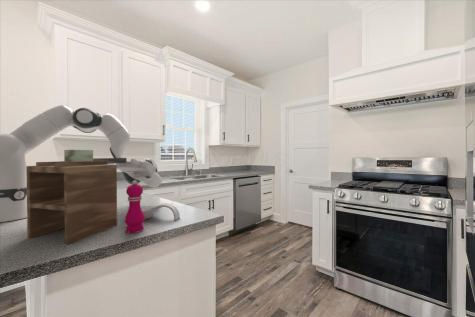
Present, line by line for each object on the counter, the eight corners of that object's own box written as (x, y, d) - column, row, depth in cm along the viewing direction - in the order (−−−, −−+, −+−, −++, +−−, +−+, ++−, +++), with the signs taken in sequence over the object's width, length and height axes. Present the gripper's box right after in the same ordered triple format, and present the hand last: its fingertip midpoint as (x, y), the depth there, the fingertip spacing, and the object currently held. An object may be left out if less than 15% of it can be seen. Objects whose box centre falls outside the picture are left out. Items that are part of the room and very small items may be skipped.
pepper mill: (125, 234, 81) (125, 182, 81) (124, 229, 88) (123, 180, 87) (146, 231, 85) (145, 180, 85) (143, 226, 91) (143, 178, 91)
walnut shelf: (27, 237, 78) (26, 161, 77) (81, 221, 97) (80, 160, 97) (68, 244, 72) (67, 162, 72) (117, 225, 91) (116, 161, 91)
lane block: (64, 165, 83) (64, 149, 83) (119, 162, 109) (119, 150, 108) (76, 165, 81) (75, 149, 81) (129, 162, 107) (129, 150, 107)
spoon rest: (123, 221, 99) (123, 205, 99) (138, 213, 111) (138, 200, 110) (173, 223, 96) (173, 207, 96) (183, 215, 107) (183, 201, 107)
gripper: (128, 166, 124) (110, 154, 112) (158, 167, 118) (143, 154, 106) (124, 176, 121) (105, 165, 109) (155, 177, 115) (138, 165, 103)
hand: (124, 159), depth 108 cm, fingers open, 8 cm apart
